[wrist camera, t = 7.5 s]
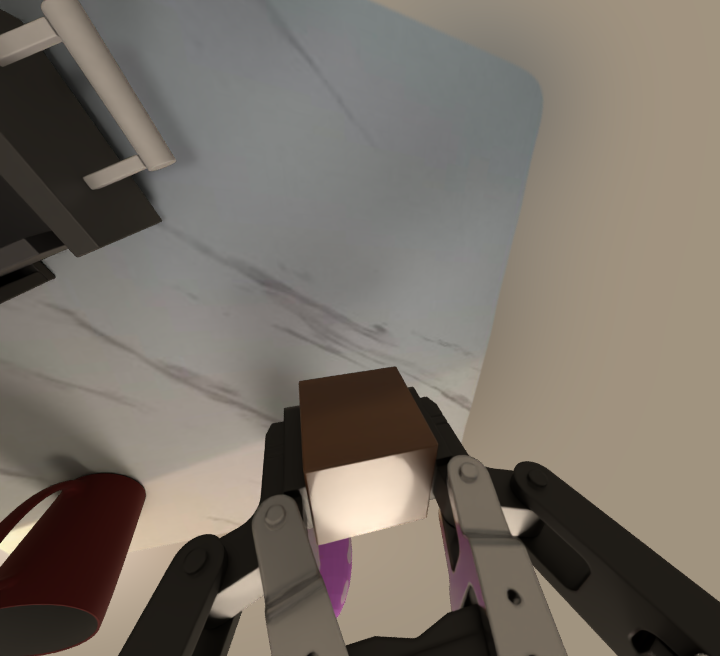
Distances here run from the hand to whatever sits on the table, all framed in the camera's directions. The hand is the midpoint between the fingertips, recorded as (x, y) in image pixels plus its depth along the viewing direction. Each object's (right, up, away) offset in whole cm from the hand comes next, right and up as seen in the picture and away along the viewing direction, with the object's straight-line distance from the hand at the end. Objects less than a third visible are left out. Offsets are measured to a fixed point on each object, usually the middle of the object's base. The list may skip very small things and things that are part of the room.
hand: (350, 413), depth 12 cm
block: (0, 0, 0) cm, 0 cm away
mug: (-28, -13, +19) cm, 36 cm away
